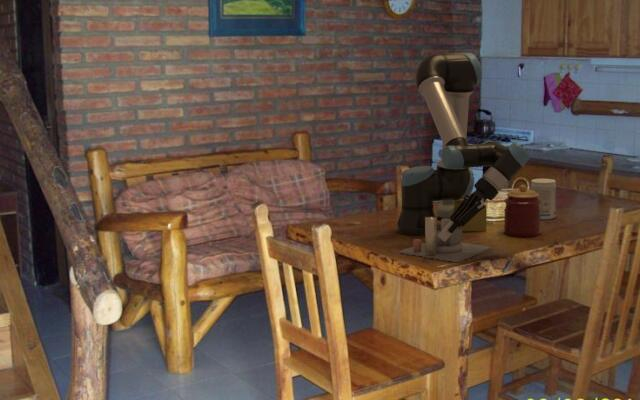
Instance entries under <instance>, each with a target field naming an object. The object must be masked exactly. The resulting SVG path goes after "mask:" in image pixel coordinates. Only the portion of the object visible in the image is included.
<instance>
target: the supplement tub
mask: <svg viewBox="0 0 640 400" xmlns="http://www.w3.org/2000/svg"><path fill="white" fill-rule="evenodd" d="M530 190H534V191H535V192H536V193H538V194H539V196H538V199H540V200H541V203H540V209H541V218H540V220H552V219H555V217H556V207H557V202H556V201H557V199H556V198H557V180H556V179H552V178H534V179H531V181H530Z"/></svg>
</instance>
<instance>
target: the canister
mask: <svg viewBox="0 0 640 400" xmlns="http://www.w3.org/2000/svg"><path fill="white" fill-rule="evenodd" d="M506 196H507V198H505V199H504V203H505V208H503V211H504V217H503V218H504V220H503V221H504V222H503V231H504V233H505V234H506V235H509V236H514V237H534V236H539V235H541V234H540V233H541V230H542V227H541V219H540V218H541V209H540V203H541V200H540V199H538V196H539V194H538V193H536V192H535V191H534V190H531V189H527V186H526V184H521V185H520V186H519V187H518V189H512V190H510V191H509V192H507V193H506Z"/></svg>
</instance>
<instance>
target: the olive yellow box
mask: <svg viewBox="0 0 640 400" xmlns="http://www.w3.org/2000/svg"><path fill="white" fill-rule="evenodd" d="M462 201H463V199H459V200H456V201H454V211H455V210H456V208H457V207H458V206H459V205H460V203H461V202H462ZM484 205H485V208H484V209H482V210H481V211H479V212H478V213H477V214H476V215H475V216H474V217H473V218H472V219H471V220H470V221H469V222H468V223H466V224H465V225H464V226H463V227H462V226H460V227H459V228H462V233H463V232H486V231H487V204H486V203H485V202H484Z"/></svg>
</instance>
